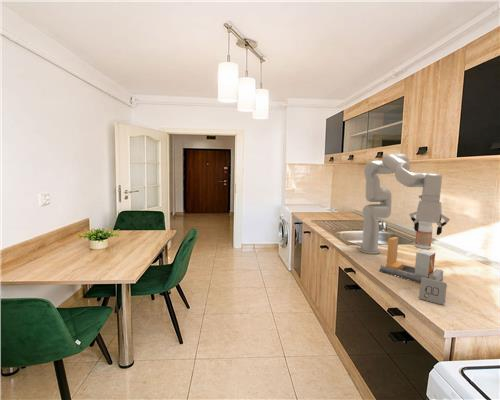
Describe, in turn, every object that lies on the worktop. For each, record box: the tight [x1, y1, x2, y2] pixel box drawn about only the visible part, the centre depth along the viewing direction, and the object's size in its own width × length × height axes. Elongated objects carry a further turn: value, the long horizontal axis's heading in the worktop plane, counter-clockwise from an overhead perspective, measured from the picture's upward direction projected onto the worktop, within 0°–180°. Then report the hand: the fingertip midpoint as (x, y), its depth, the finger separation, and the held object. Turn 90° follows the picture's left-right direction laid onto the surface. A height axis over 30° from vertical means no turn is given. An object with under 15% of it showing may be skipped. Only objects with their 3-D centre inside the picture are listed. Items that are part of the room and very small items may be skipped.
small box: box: [414, 249, 436, 278], centre depth 143 cm, size 8×6×13 cm
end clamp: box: [385, 236, 405, 270], centre depth 153 cm, size 6×9×17 cm, turn 132°
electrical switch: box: [418, 278, 448, 306], centre depth 122 cm, size 9×5×9 cm, turn 52°
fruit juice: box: [414, 221, 433, 250], centre depth 197 cm, size 9×9×28 cm
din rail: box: [379, 264, 444, 284], centre depth 148 cm, size 26×14×5 cm, turn 42°
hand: (427, 232), depth 141 cm, fingers open, 9 cm apart
